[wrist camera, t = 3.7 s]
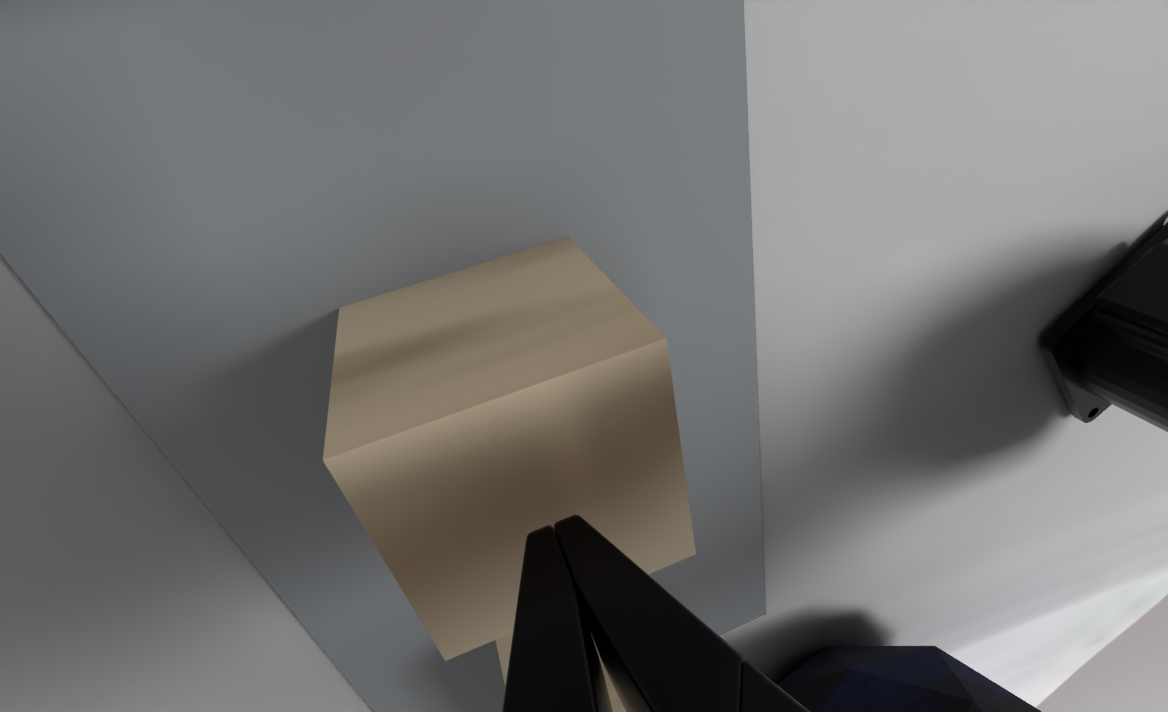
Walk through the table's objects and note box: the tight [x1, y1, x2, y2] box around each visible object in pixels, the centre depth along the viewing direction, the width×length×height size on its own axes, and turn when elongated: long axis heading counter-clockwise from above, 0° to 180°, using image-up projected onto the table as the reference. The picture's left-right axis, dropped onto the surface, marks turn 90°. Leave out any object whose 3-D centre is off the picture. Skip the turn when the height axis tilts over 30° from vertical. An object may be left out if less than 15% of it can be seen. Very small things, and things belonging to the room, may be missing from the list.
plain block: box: [323, 237, 696, 661], centre depth 11 cm, size 5×5×5 cm
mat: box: [0, 0, 766, 712], centre depth 14 cm, size 30×14×1 cm, turn 12°
